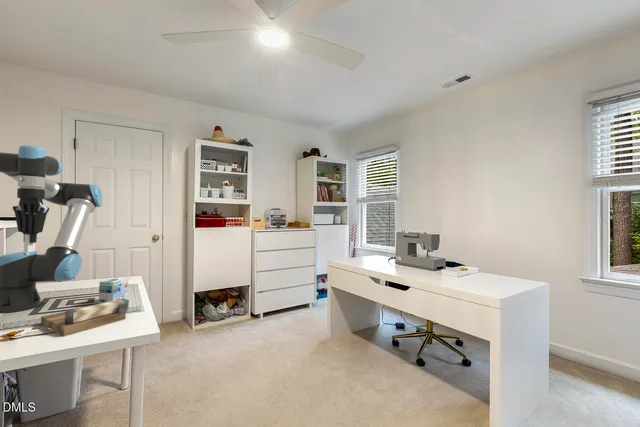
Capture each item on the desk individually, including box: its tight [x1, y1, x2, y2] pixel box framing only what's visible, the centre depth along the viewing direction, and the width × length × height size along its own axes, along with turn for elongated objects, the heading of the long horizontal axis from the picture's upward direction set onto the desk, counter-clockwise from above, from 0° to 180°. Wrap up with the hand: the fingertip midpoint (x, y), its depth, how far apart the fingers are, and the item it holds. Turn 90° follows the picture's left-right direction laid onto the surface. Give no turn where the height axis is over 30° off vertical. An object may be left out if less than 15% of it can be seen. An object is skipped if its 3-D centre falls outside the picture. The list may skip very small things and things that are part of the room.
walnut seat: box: [40, 303, 129, 337], centre depth 117 cm, size 18×20×6 cm
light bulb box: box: [98, 276, 129, 304], centre depth 141 cm, size 11×7×11 cm, turn 179°
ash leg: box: [64, 299, 130, 324], centre depth 116 cm, size 21×4×4 cm, turn 152°
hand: (29, 251), depth 115 cm, fingers closed
